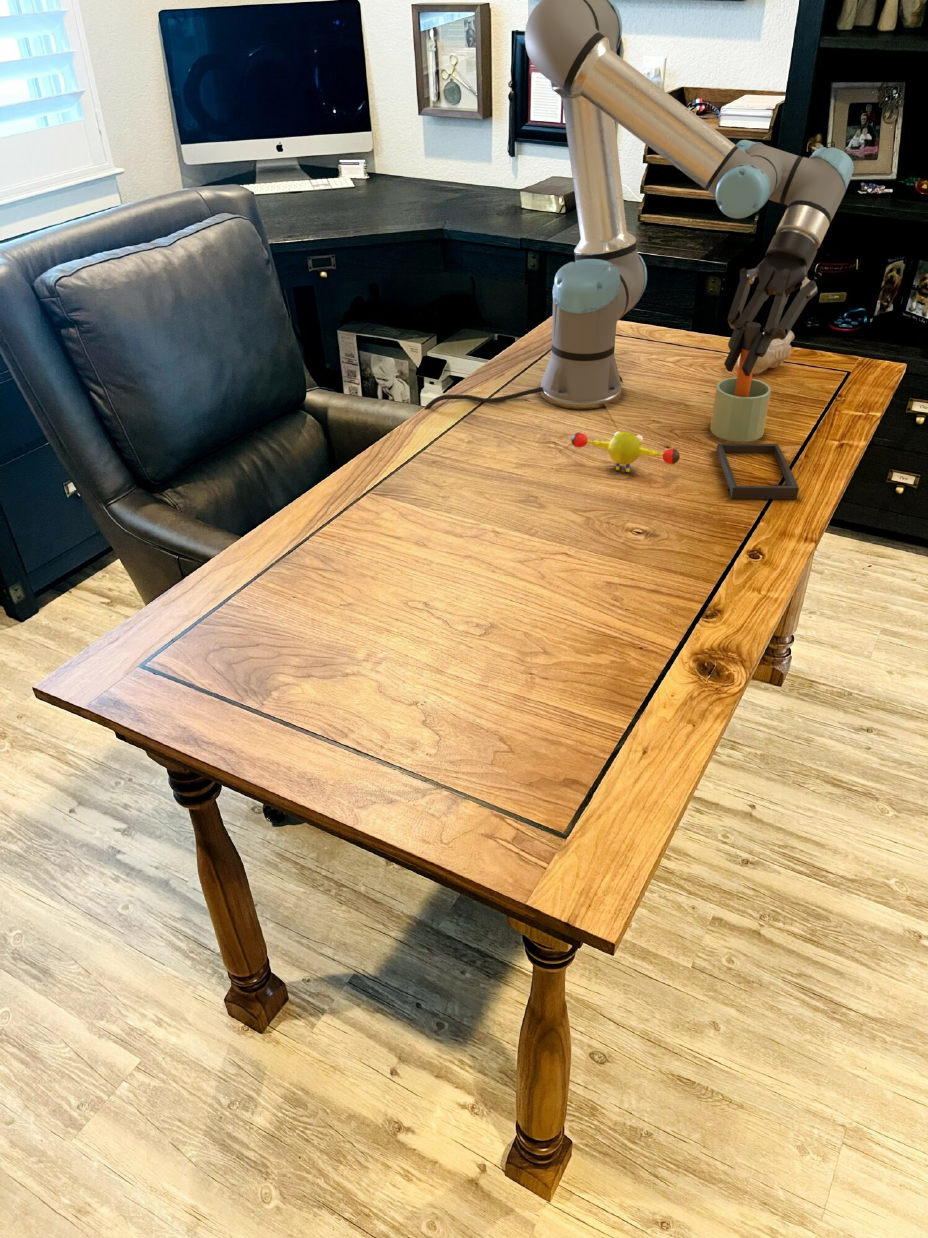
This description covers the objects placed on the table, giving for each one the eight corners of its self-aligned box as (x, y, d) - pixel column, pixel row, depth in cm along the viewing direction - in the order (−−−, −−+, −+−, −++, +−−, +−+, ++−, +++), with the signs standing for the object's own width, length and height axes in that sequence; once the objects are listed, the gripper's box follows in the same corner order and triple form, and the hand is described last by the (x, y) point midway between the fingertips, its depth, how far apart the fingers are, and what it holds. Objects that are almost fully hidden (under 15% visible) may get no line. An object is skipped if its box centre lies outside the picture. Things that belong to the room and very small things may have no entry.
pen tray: (796, 499, 149) (799, 487, 148) (731, 498, 150) (733, 487, 148) (775, 454, 161) (778, 443, 160) (715, 454, 162) (717, 443, 161)
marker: (732, 424, 166) (748, 327, 156) (728, 418, 168) (743, 322, 158) (746, 423, 166) (763, 326, 156) (741, 417, 168) (757, 321, 158)
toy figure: (681, 473, 157) (686, 435, 153) (672, 488, 153) (677, 449, 149) (576, 454, 163) (578, 417, 159) (565, 468, 159) (567, 430, 155)
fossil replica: (725, 374, 190) (775, 388, 186) (734, 335, 184) (785, 348, 181) (744, 350, 197) (792, 362, 194) (753, 311, 192) (803, 323, 188)
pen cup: (719, 446, 164) (727, 400, 159) (702, 424, 171) (709, 378, 166) (770, 443, 165) (779, 396, 160) (751, 420, 172) (759, 375, 167)
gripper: (844, 262, 158) (785, 391, 157) (756, 247, 166) (699, 369, 165) (839, 236, 151) (777, 370, 151) (748, 221, 159) (688, 348, 159)
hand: (736, 369), depth 158 cm, fingers closed on marker, 2 cm apart
